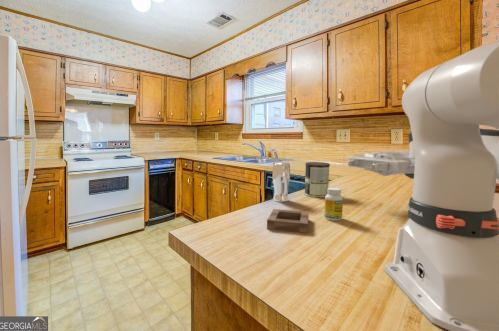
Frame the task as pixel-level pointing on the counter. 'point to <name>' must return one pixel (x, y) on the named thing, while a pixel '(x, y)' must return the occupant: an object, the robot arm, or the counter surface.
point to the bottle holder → (288, 220)
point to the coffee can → (316, 179)
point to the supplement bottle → (333, 204)
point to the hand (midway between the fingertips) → (361, 164)
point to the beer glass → (281, 181)
